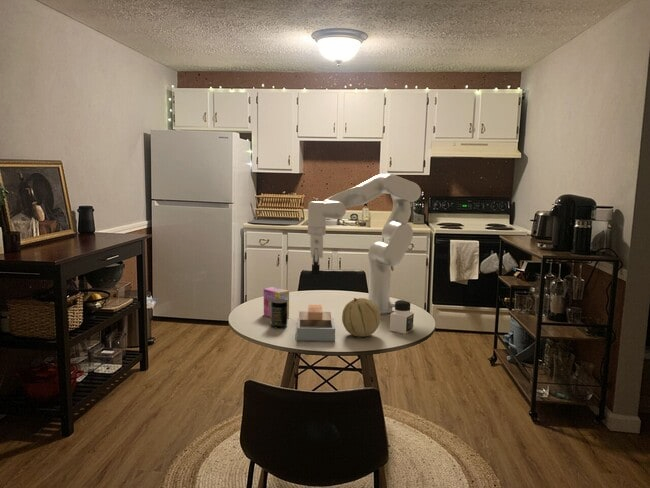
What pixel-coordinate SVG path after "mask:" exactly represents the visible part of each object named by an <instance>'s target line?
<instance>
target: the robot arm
mask: <svg viewBox="0 0 650 488" xmlns="http://www.w3.org/2000/svg"><path fill="white" fill-rule="evenodd" d="M421 193H422V190H421V187H420V186H419V185H418V184H417V183H416V182H414V181H411V180H408V179H406V178H403V177H401V176H399V175H396V174H393V173H392V174H391V173H380V174H379V173H378V174H377V175H374V176H373V177H371V178H369V179H367V180H366V181H364V182H361V183H360V184H357V185H355V186H353V187H350V188H348V189H346V190H343V191H340V192H338V193H335V194H334V195H332V196H329V197H328V198H326V199H324V200H323V201H320V200H318V201H317V200H316V201H315V200H314V201H309V202H308V206H307V207H308V208H307V211H308V212H307V235H309V236H310V240H309V241H310V242H309V243H310V244H309V246H310V247H309V248H310V257H311V259H312V264H311V275H320V268H321V265H320V259H321V260H322V259H323V258H324V236H326V234H327V233H326V228H327V221H326V220H327V219H333V220H338V219H339V220H340V219H341V218H343V217H344V216H345V214H346V211H347V208H351V207H358V206H362V205H365V204H367V203H369V202H371V201H373V200H374V199H376V198H378V197H381V195H385V194H387V195H388V194H389V195H390V197H391V200H392V204H393V205H392V210H391V212H390V215H389V217H388V218H387V220H386V222H385V223H384V226H383V228H382V230H381V236H382V238H383V239H384V240H385V241H387V242H384V241H374V242H373V243H371V245H370V246H369V248H368V264H369V280H368V283H369V284H368V299H369V300H371V301H372V302H373V303H375V304H376V306H377V307H378V309H379V311H380V315H385V314H391V313H393V308H395V302H396V301H395V302H391V301H390V298H391V296H390V295H391V275H392V272H391V267H395V266H397V265H398V264H400V263H401V262H402V260H403V258H404V256H405V254H406V252H407V251H408V249H409V246H410V245H411V243H412V240H413V236H414V229H413V227H412V226H411V225H410V224H408V222H409V219H410V217H411V215H412V208H411V203H413V202H417V201H418V200H420V197H421Z"/></svg>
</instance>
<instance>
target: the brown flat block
mask: <svg viewBox="0 0 650 488" xmlns="http://www.w3.org/2000/svg"><path fill="white" fill-rule="evenodd" d="M322 312H323V315H322V320H308V311H303V310H302V311H301V310H299V311H298V313H299V314H298V318H300V326H327V327H331V319H333V318H332V314H331V313H332V312H330V311H322Z"/></svg>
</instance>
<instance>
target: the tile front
mask: <svg viewBox="0 0 650 488" xmlns="http://www.w3.org/2000/svg"><path fill="white" fill-rule="evenodd" d="M307 312H308V320H322V315H323V312H324V311H323V308H322V309H309V310H308V309H307Z"/></svg>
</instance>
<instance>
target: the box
mask: <svg viewBox="0 0 650 488" xmlns="http://www.w3.org/2000/svg"><path fill="white" fill-rule="evenodd" d="M274 299H285V300H287V301H288V307H287V319H288V318H290V290H288V289H287V290H286V289H284V288H283V289H282V288H278V287H275V286H271V287H270V286H269V287H266V288H263V316H266V317H269V318H271V300H274Z"/></svg>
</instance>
